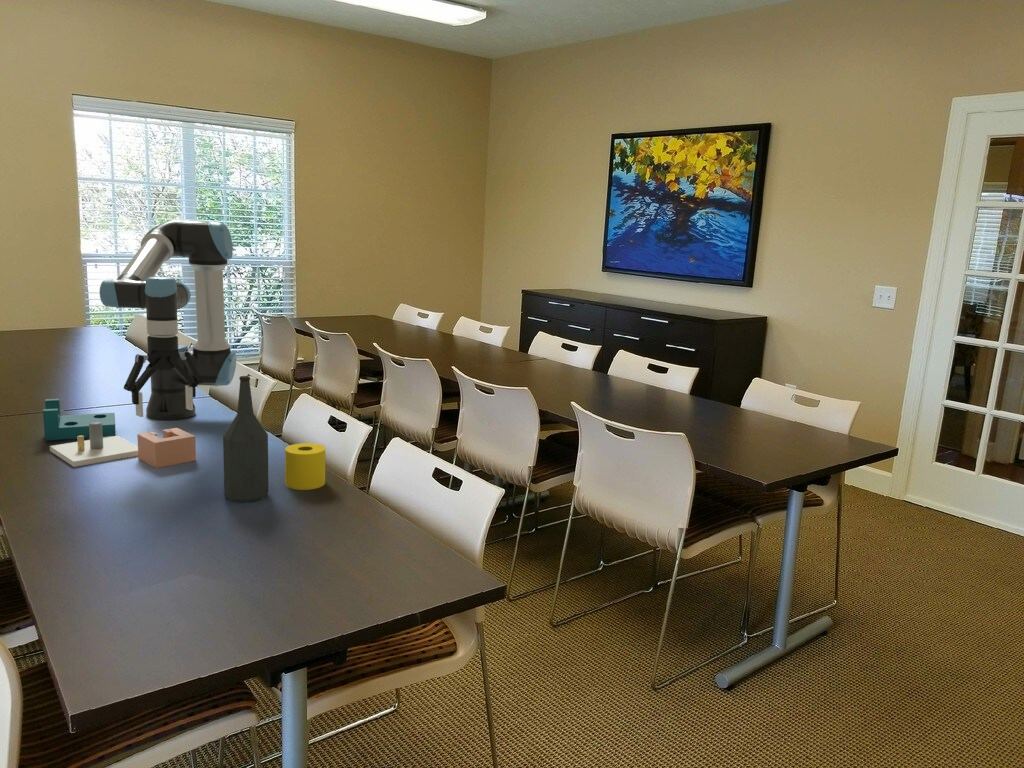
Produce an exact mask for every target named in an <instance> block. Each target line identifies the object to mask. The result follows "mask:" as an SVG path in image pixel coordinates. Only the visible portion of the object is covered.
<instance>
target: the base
mask: <svg viewBox="0 0 1024 768" xmlns="http://www.w3.org/2000/svg"><path fill="white" fill-rule="evenodd" d="M89 434H90V438H89V439H87V440H85V438H84V436H77V438H76V439H77V441H73V442H66V443H60V444H54V445H49V452H51V453H52V454H54V455H55V456H57V457H58V458H60V459H61V460H63V461H64V462H65V463H67V464H69V465H70V466H72V467H73V468H76V467H81V466H87V465H94V464H98V463H99V464H100V463H105V462H110V461H115V460H116V461H117V460H122V459H126V458H127V457H128V458H133V457H137V456H138V445H136V444H135V443H132V442H130V441H129V440H127V439H124V438H123V437H122V436H119V435H115V436H105V437H103V432H102V423H101V422H92V423H89ZM121 458H122V459H121Z"/></svg>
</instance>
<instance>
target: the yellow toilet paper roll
mask: <svg viewBox="0 0 1024 768" xmlns="http://www.w3.org/2000/svg"><path fill="white" fill-rule="evenodd" d="M284 455H285V456H284V457H285V458H284V460H285V461H284V464H285V465H284V467H285V469H284V471H285V473H284V475H285V478H284V482H285V483H284V484H285V486H286V487H287V488H289V489H293V490H297V491H305V490H306V491H309V490H315V489H318V488H321V487H323V486H324V485H325V484H326V447H325V446H324V445H322V444H319V443H314V442H300V443H294V444H290V445H288V446H286V447H285V449H284Z"/></svg>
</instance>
